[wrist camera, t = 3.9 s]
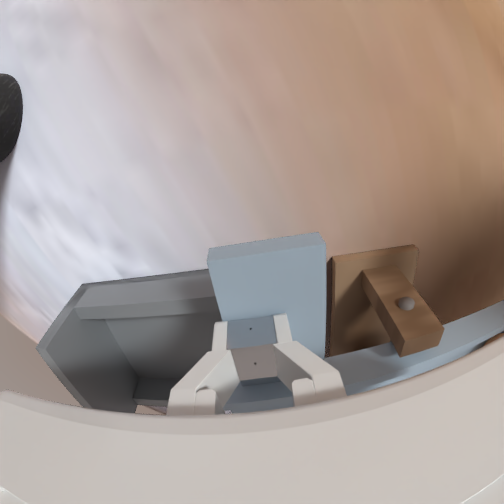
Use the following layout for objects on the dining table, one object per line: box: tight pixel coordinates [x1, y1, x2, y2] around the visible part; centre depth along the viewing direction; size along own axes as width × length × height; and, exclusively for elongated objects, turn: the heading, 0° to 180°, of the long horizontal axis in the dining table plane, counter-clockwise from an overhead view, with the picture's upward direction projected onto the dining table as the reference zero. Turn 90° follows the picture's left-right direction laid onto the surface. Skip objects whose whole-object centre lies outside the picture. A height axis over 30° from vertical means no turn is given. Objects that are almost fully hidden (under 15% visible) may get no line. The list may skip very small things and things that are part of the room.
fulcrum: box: [329, 245, 445, 357], centre depth 16 cm, size 6×10×7 cm, turn 8°
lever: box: [207, 232, 504, 414], centre depth 11 cm, size 20×12×3 cm, turn 98°
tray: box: [36, 269, 222, 413], centre depth 17 cm, size 12×11×7 cm
